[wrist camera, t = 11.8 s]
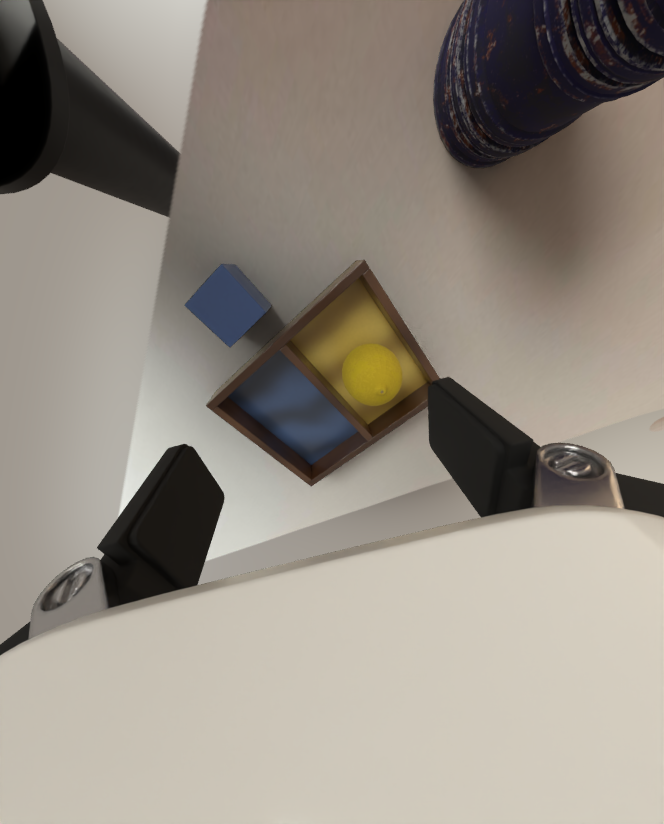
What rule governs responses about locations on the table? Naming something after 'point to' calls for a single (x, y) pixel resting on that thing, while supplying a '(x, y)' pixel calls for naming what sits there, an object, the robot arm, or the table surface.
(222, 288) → the blue block
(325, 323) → the sorting tray
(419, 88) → the table surface
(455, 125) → the storage jar
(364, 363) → the lemon
